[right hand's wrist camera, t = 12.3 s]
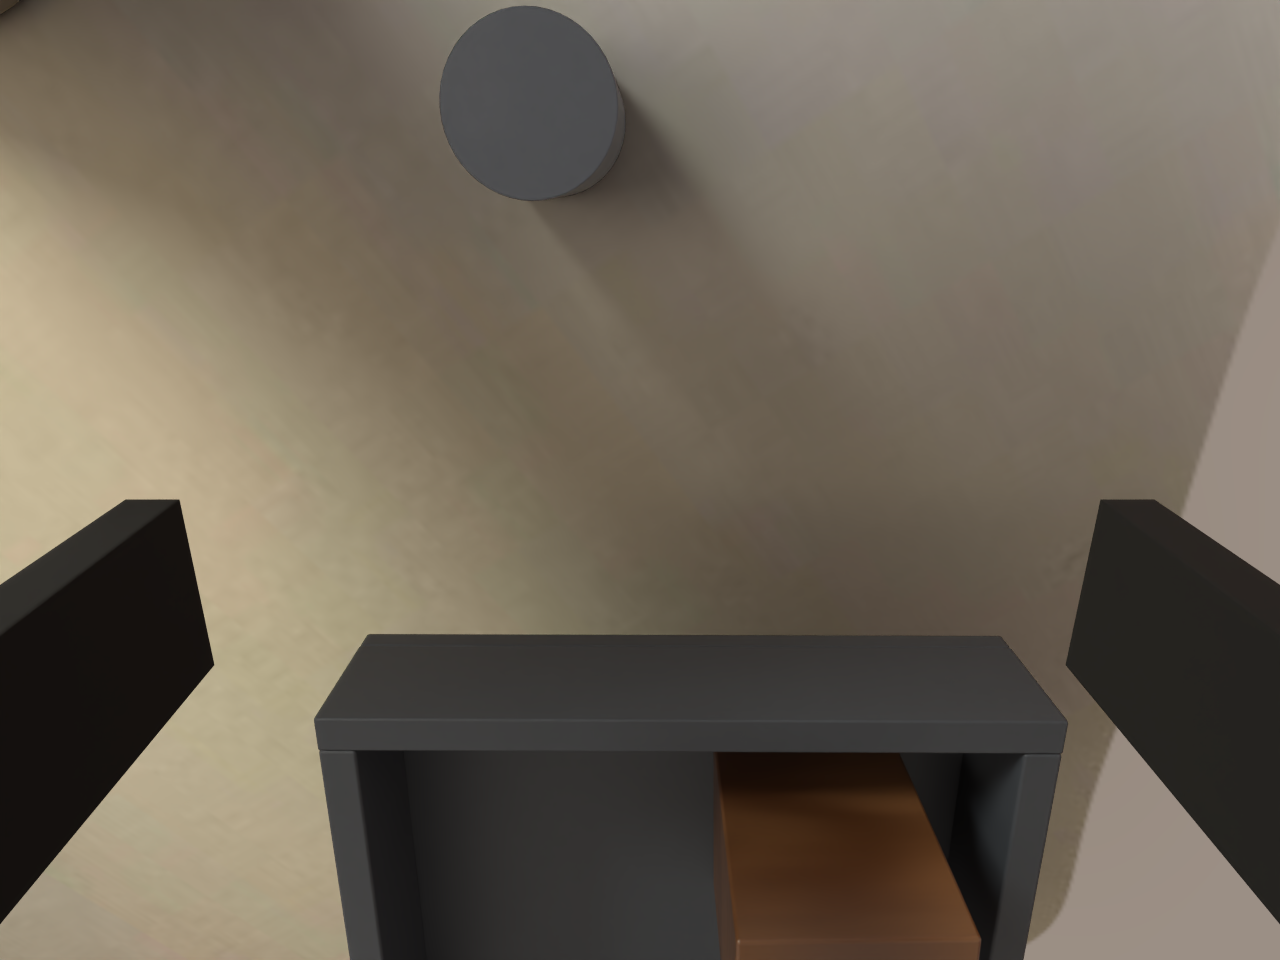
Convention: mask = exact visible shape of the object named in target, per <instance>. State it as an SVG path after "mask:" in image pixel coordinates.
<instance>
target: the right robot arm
mask: <svg viewBox="0 0 1280 960" xmlns="http://www.w3.org/2000/svg"><path fill="white" fill-rule="evenodd" d="M19 1H20V0H0V14H1V13H3V12H5V11H6V10H8V9H10V8H11V7H13V6H14V5H15V4H16V3H17V2H19ZM213 666H214V661H213V656H212V652H211V647H210V642H209V638H208V633H207V628H206V623H205V619H204V614H203V609H202V604H201V600H200V595H199V590H198V585H197V581H196V576H195V571H194V567H193V562H192V557H191V552H190V548H189V543H188V538H187V533H186V529H185V524H184V519H183V514H182V510H181V505H180V500H124V501H123V502H121V503H120V504H118V505H117V506H116V507H114V508H113V509H111V510H110V511H108V512H107V513H105V514H104V515H102V516H101V517H99V518H98V519H96V520H95V521H93V522H92V523H91V524H89V525H88V526H86V527H85V528H83V529H82V530H80V531H79V532H77V533H76V534H74V535H73V536H71V537H70V538H68V539H67V540H66V541H64V542H63V543H61V544H60V545H58V546H57V547H55V548H54V549H52V550H51V551H49V552H48V553H46V554H45V555H43V556H42V557H41V558H39V559H38V560H36V561H35V562H33V563H32V564H30V565H29V566H27V567H26V568H24V569H23V570H21V571H20V572H18V573H17V574H16V575H14V576H13V577H11V578H10V579H8V580H7V581H5V582H4V583H2V584H1V585H0V924H1V922H2V921H3V920H4V919H5V918H6V916H7V915H8V914H9V913H10V911H11V910H12V909H13V908H14V907H15V905H16V904H17V903H18V902H19V901H20V899H21V898H22V897H23V896H24V895H25V893H26V892H27V891H28V890H29V888H30V887H31V886H32V885H33V884H34V882H35V881H36V880H37V879H38V878H39V876H40V875H41V874H42V873H43V872H44V870H45V869H46V868H47V867H48V866H49V864H50V863H51V862H52V861H53V859H54V858H55V857H56V856H57V855H58V853H59V852H60V851H61V850H62V849H63V847H64V846H65V845H66V844H67V843H68V841H69V840H70V839H71V838H72V836H73V835H74V834H75V833H76V832H77V830H78V829H79V828H80V827H81V826H82V824H83V823H84V822H85V821H86V820H87V818H88V817H89V816H90V815H91V813H92V812H93V811H94V810H95V809H96V807H97V806H98V805H99V804H100V803H101V801H102V800H103V799H104V798H105V797H106V795H107V794H108V793H109V792H110V790H111V789H112V788H113V787H114V786H115V784H116V783H117V782H118V781H119V780H120V778H121V777H122V776H123V775H124V774H125V772H126V771H127V770H128V769H129V768H130V766H131V765H132V764H133V763H134V761H135V760H136V759H137V758H138V757H139V755H140V754H141V753H142V752H143V751H144V749H145V748H146V747H147V746H148V745H149V743H150V742H151V741H152V740H153V738H154V737H155V736H156V735H157V734H158V732H159V731H160V730H161V729H162V728H163V726H164V725H165V724H166V723H167V722H168V720H169V719H170V718H171V717H172V715H173V714H174V713H175V712H176V711H177V709H178V708H179V707H180V706H181V705H182V703H183V702H184V701H185V700H186V699H187V697H188V696H189V695H190V694H191V693H192V691H193V690H194V689H195V688H196V686H197V685H198V684H199V683H200V682H201V680H202V679H203V678H204V677H205V676H206V674H207V673H208V672H209V671H210V670H211V668H212V667H213ZM1066 666H1067V667H1068V668H1069V670H1070V671H1071V672H1072V673H1073V674H1074V676H1075V677H1076V678H1077V679H1078V680H1079V682H1080V683H1081V684H1082V685H1083V686H1084V688H1085V689H1086V690H1087V691H1088V693H1089V694H1090V695H1091V696H1092V697H1093V699H1094V700H1095V701H1096V702H1097V703H1098V705H1099V706H1100V707H1101V708H1102V709H1103V711H1104V712H1105V713H1106V714H1107V715H1108V717H1109V718H1110V719H1111V720H1112V722H1113V723H1114V724H1115V725H1116V726H1117V728H1118V729H1119V730H1120V731H1121V732H1122V734H1123V735H1124V736H1125V737H1126V738H1127V740H1128V741H1129V742H1130V743H1131V745H1132V746H1133V747H1134V748H1135V749H1136V751H1137V752H1138V753H1139V754H1140V755H1141V757H1142V758H1143V759H1144V760H1145V761H1146V763H1147V764H1148V765H1149V766H1150V768H1151V769H1152V770H1153V771H1154V772H1155V774H1156V775H1157V776H1158V777H1159V778H1160V780H1161V781H1162V782H1163V783H1164V784H1165V786H1166V787H1167V788H1168V789H1169V791H1170V792H1171V793H1172V794H1173V795H1174V797H1175V798H1176V799H1177V800H1178V801H1179V803H1180V804H1181V805H1182V806H1183V807H1184V809H1185V810H1186V811H1187V812H1188V813H1189V815H1190V816H1191V817H1192V818H1193V820H1194V821H1195V822H1196V823H1197V824H1198V826H1199V827H1200V828H1201V829H1202V830H1203V832H1204V833H1205V834H1206V835H1207V836H1208V838H1209V839H1210V840H1211V841H1212V843H1213V844H1214V845H1215V846H1216V847H1217V849H1218V850H1219V851H1220V852H1221V853H1222V855H1223V856H1224V857H1225V858H1226V859H1227V861H1228V862H1229V863H1230V864H1231V866H1232V867H1233V868H1234V869H1235V870H1236V872H1237V873H1238V874H1239V875H1240V876H1241V878H1242V879H1243V880H1244V881H1245V882H1246V884H1247V885H1248V886H1249V887H1250V888H1251V890H1252V891H1253V892H1254V893H1255V895H1256V896H1257V897H1258V898H1259V899H1260V901H1261V902H1262V903H1263V904H1264V905H1265V907H1266V908H1267V909H1268V910H1269V911H1270V913H1271V914H1272V915H1273V916H1274V918H1275V919H1276V920H1277V921H1278V922H1279V924H1280V585H1279V584H1278V583H1276V582H1275V581H1273V580H1272V579H1270V578H1269V577H1267V576H1266V575H1264V574H1263V573H1261V572H1260V571H1259V570H1257V569H1256V568H1254V567H1253V566H1251V565H1250V564H1248V563H1247V562H1245V561H1244V560H1242V559H1241V558H1239V557H1238V556H1237V555H1235V554H1233V553H1232V552H1231V551H1229V550H1228V549H1226V548H1225V547H1223V546H1222V545H1220V544H1219V543H1217V542H1216V541H1214V540H1213V539H1212V538H1210V537H1209V536H1207V535H1206V534H1204V533H1203V532H1201V531H1200V530H1198V529H1197V528H1195V527H1194V526H1192V525H1191V524H1189V523H1188V522H1187V521H1185V520H1184V519H1182V518H1181V517H1179V516H1178V515H1176V514H1175V513H1173V512H1172V511H1170V510H1169V509H1167V508H1166V507H1164V506H1163V505H1162V504H1160V503H1159V502H1157V501H1156V500H1100V505H1099V510H1098V514H1097V519H1096V524H1095V529H1094V533H1093V538H1092V543H1091V548H1090V552H1089V557H1088V562H1087V567H1086V571H1085V576H1084V581H1083V585H1082V590H1081V595H1080V600H1079V604H1078V609H1077V614H1076V619H1075V623H1074V628H1073V633H1072V638H1071V642H1070V647H1069V652H1068V656H1067V661H1066Z"/></svg>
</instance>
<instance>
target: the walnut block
mask: <svg viewBox="0 0 1280 960" xmlns="http://www.w3.org/2000/svg"><path fill="white" fill-rule="evenodd" d="M713 768H714V893H715V904H716V915H717V926H718V937H719V948H720V959H721V960H979V954H980V946H981V937H980V935H979V932H978V930H977V928H976V926H975V923H974V921H973V919H972V916H971V914H970V912H969V910H968V907H967V905H966V903H965V901H964V898H963V896H962V894H961V891H960V889H959V887H958V885H957V882H956V880H955V878H954V876H953V873H952V871H951V869H950V866H949V864H948V862H947V860H946V857H945V855H944V853H943V851H942V848H941V846H940V844H939V841H938V839H937V837H936V835H935V832H934V830H933V828H932V826H931V823H930V821H929V819H928V817H927V814H926V812H925V810H924V807H923V805H922V803H921V801H920V798H919V796H918V794H917V792H916V789H915V787H914V785H913V782H912V780H911V778H910V776H909V773H908V771H907V769H906V767H905V764H904V762H903V760H902V757H901V755H900V753H825V752H713Z"/></svg>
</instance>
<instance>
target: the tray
mask: <svg viewBox="0 0 1280 960" xmlns="http://www.w3.org/2000/svg"><path fill="white" fill-rule="evenodd" d="M314 723H315V730H316V736H317V743H318V749H319V750H320V752H319V754H320V761H321V767H322V774H323V781H324V787H325V794H326V801H327V807H328V814H329V821H330V828H331V834H332V841H333V848H334V854H335V861H336V868H337V875H338V881H339V888H340V895H341V901H342V908H343V915H344V922H345V928H346V935H347V942H348V948H349V955H350V960H721V959H720V948H719V937H718V926H717V915H716V904H715V893H714V768H713V752H825V753H900V755H901V757H902V760H903V762H904V764H905V767H906V769H907V771H908V773H909V776H910V778H911V780H912V782H913V785H914V787H915V789H916V792H917V794H918V796H919V798H920V801H921V803H922V805H923V807H924V810H925V812H926V814H927V817H928V819H929V821H930V823H931V826H932V828H933V830H934V832H935V835H936V837H937V839H938V841H939V844H940V846H941V848H942V851H943V853H944V855H945V857H946V860H947V862H948V864H949V866H950V869H951V871H952V873H953V876H954V878H955V880H956V882H957V885H958V887H959V889H960V891H961V894H962V896H963V898H964V901H965V903H966V905H967V907H968V910H969V912H970V914H971V916H972V919H973V921H974V923H975V926H976V928H977V930H978V932H979V935H980V937H981V946H980V954H979V960H1023V959H1024V953H1025V948H1026V943H1027V937H1028V932H1029V927H1030V921H1031V916H1032V910H1033V905H1034V900H1035V894H1036V889H1037V884H1038V878H1039V873H1040V868H1041V862H1042V857H1043V852H1044V846H1045V841H1046V835H1047V830H1048V825H1049V819H1050V814H1051V809H1052V803H1053V798H1054V793H1055V787H1056V782H1057V776H1058V771H1059V766H1060V760H1061V753H1062V752H1063V748H1064V742H1065V737H1066V731H1067V726H1068V721H1067V720H1066V719H1065V717H1064V716H1063V715H1062V713H1061V712H1060V711H1059V710H1058V708H1057V707H1056V706H1055V705H1054V703H1053V702H1052V701H1051V699H1050V698H1049V697H1048V696H1047V694H1046V693H1045V692H1044V690H1043V689H1042V688H1041V687H1040V685H1039V684H1038V683H1037V681H1036V680H1035V679H1034V678H1033V676H1032V675H1031V674H1030V673H1029V671H1028V670H1027V669H1026V667H1025V666H1024V665H1023V664H1022V662H1021V661H1020V660H1019V658H1018V657H1017V656H1016V655H1015V653H1014V652H1013V651H1012V649H1010V648H1009V646H1008V645H1007V644H1006V642H1005V641H1004V640H1003V638H1002V637H1000V636H810V635H463V634H369V635H367V637H366V638H365V640H364V641H363V643H362V645H361V647H359V649H358V650H357V652H356V653H355V655H354V657H353V658H352V660H351V661H350V663H349V664H348V666H347V668H346V669H345V671H344V672H343V674H342V676H341V677H340V679H339V680H338V682H337V683H336V685H335V687H334V688H333V690H332V691H331V693H330V694H329V696H328V698H327V699H326V701H325V702H324V704H323V705H322V707H321V709H320V710H319V712H318V713H317V715H316V716H315V718H314Z"/></svg>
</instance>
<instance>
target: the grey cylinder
mask: <svg viewBox="0 0 1280 960" xmlns="http://www.w3.org/2000/svg"><path fill="white" fill-rule="evenodd" d="M440 113H441V120H442V124H443V128H444V132H445V134H446V137H447V140H448V142H449V144H450V146H451V148H452V150H453V152H454V154H455V156H456V157H457V158H458V160H459V161H460V163H461V164H462V166H463V167H464V168H465V169H466V170H467V171H468V172H469V173H470V174H471V175H472V176H473V177H474V178H475V179H476V180H477V181H479V182H480V183H481V184H483V185H484V186H486V187H487V188H489V189H491V190H492V191H494V192H496V193H498V194H501V195H504V196H507V197H509V198H514V199H518V200H527V201H538V200H547V199H553V198H558V197H564V196H569V195H573V194H577V193H579V192H582V191H584V190H586V189H588V188H590V187H592V186H593V185H595V184H596V183H597V182H599V181H600V180H601V179H602V178H603V177H604V176H605V175H606V174H607V173H608V171H609V170H610V169H611V168H612V166H613V164H614V163H615V161H616V160H617V157H618V155H619V153H620V151H621V147H622V144H623V141H624V135H625V124H626V120H625V109H624V104H623V100H622V97H621V94H620V91H619V88H618V85H617V83H616V80H615V77H614V75H613V72H612V70H611V67H610V65H609V63H608V61H607V59H606V56H605V55H604V53H603V52H602V50H601V48H600V47H599V45H598V44H597V43H596V42H595V40H594V39H593V38H592V37H591V35H590V34H588V33H587V32H586V31H585V30H584V29H583V28H582V27H581V26H580V25H578V24H577V23H576V22H574V21H573V20H571V19H570V18H568V17H566V16H564V15H562V14H560V13H558V12H555V11H552V10H550V9H546V8H541V7H536V6H515V7H509V8H505V9H501V10H498V11H496V12H493V13H491V14H489V15H487V16H485V17H483V18H482V19H480V20H479V21H477V22H476V23H475V24H473V25H472V26H471V27H470V28H469V29H468V30H467V31H466V32H465V33H464V34H463V35H462V36H461V37H460V39H459V40H458V42H457V43H456V44H455V46H454V48H453V49H452V51H451V53H450V55H449V57H448V59H447V62H446V65H445V67H444V71H443V75H442V79H441V85H440Z"/></svg>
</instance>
